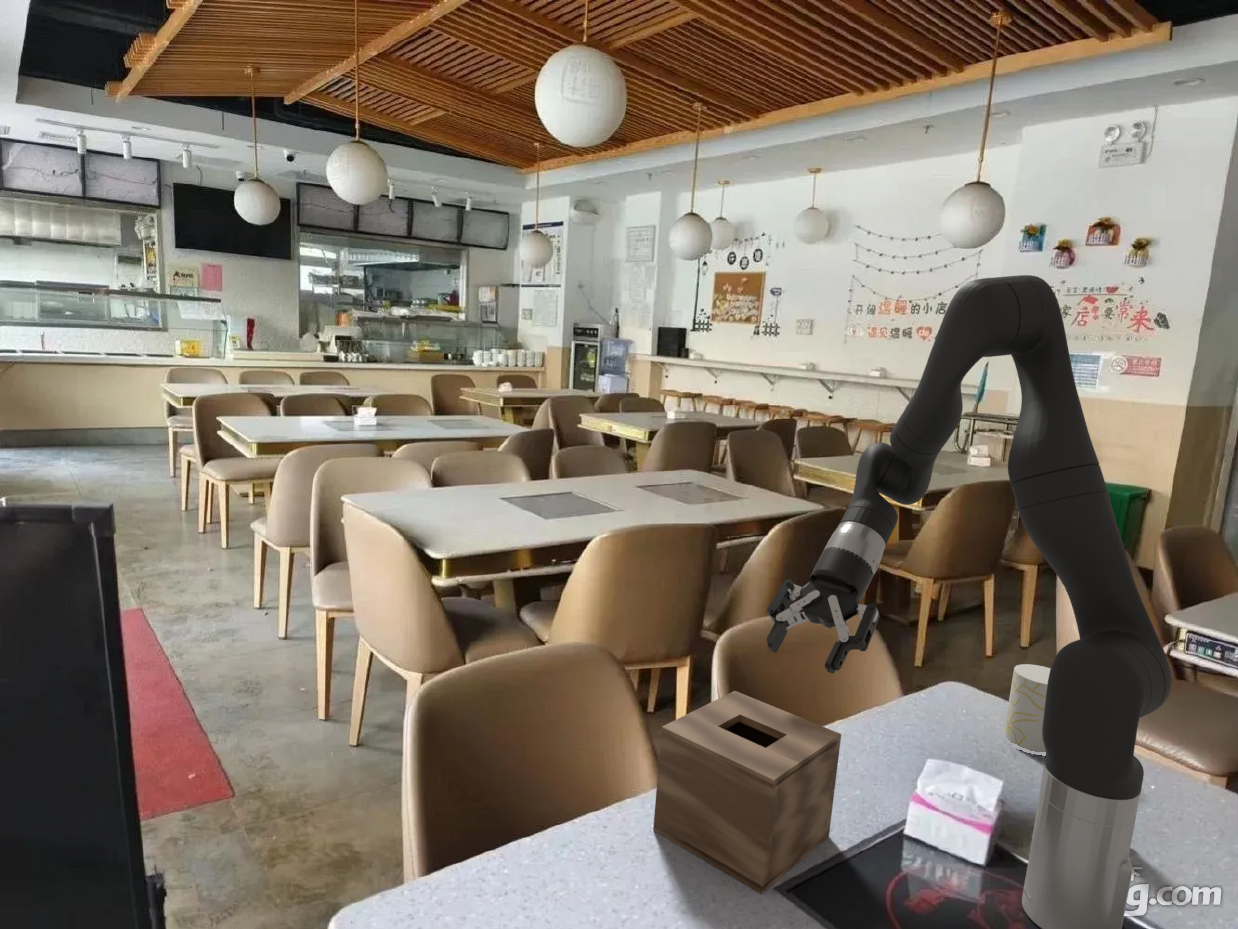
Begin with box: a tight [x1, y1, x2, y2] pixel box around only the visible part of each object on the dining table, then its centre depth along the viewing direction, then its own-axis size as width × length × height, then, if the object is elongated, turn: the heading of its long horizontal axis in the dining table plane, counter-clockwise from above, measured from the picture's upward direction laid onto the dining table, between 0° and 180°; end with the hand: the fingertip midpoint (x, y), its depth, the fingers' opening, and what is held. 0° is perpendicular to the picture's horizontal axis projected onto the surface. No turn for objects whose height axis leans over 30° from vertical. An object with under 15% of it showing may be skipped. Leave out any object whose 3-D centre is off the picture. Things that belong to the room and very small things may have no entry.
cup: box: [1003, 663, 1051, 752], centre depth 132 cm, size 8×8×12 cm
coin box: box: [652, 690, 842, 895], centre depth 102 cm, size 16×16×14 cm
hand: (799, 659), depth 108 cm, fingers open, 8 cm apart
